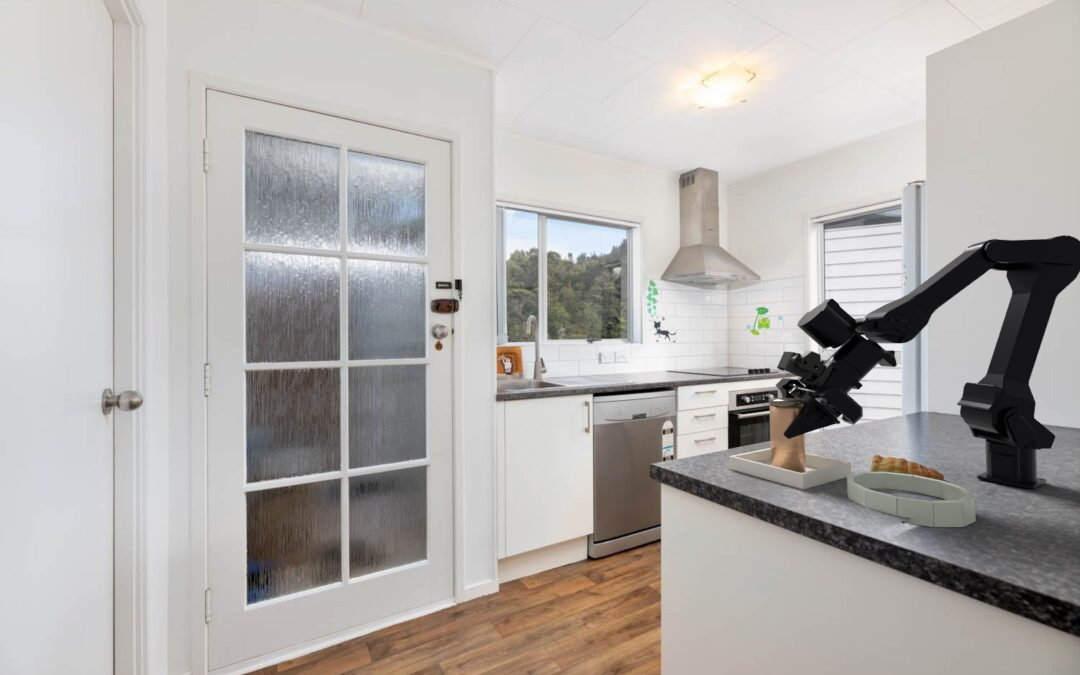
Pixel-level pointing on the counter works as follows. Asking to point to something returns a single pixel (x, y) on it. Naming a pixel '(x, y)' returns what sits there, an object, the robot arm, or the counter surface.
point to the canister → (782, 448)
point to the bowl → (920, 512)
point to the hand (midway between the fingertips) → (778, 433)
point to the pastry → (903, 467)
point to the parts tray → (816, 470)
